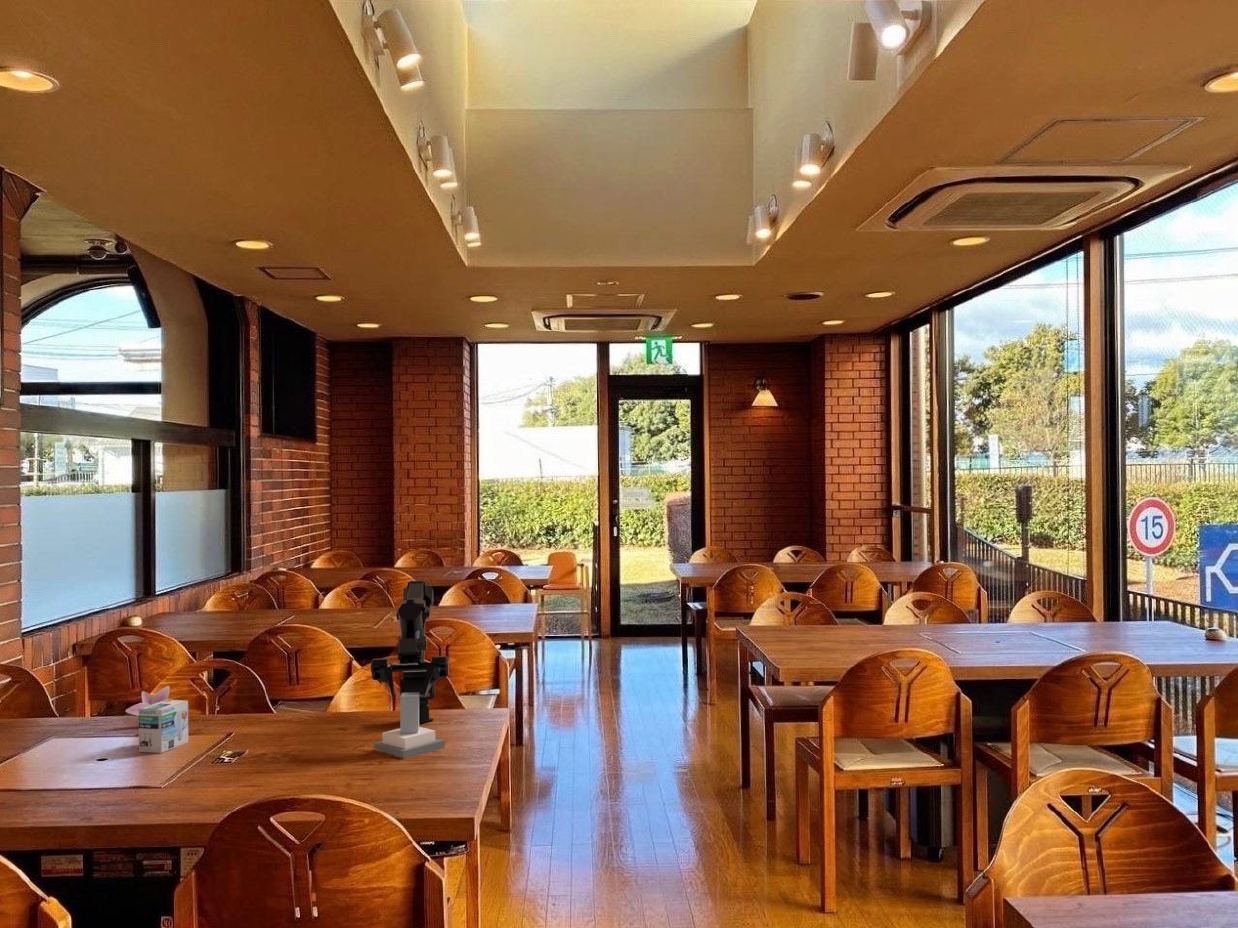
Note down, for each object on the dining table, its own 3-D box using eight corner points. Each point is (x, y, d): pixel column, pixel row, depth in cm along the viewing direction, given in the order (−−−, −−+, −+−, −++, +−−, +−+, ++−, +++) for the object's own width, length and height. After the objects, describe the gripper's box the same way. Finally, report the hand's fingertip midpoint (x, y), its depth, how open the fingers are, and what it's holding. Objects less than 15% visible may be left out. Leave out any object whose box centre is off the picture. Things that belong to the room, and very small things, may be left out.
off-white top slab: (382, 742, 233) (382, 732, 233) (412, 734, 240) (412, 724, 240) (405, 749, 227) (404, 738, 227) (435, 740, 234) (435, 730, 234)
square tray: (374, 753, 233) (374, 742, 233) (414, 742, 242) (414, 732, 242) (403, 761, 225) (403, 751, 225) (444, 750, 234) (444, 740, 234)
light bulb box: (161, 753, 233) (161, 709, 233) (137, 752, 235) (137, 708, 235) (189, 741, 244) (189, 699, 244) (166, 741, 245) (166, 698, 245)
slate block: (400, 733, 231) (400, 696, 231) (401, 729, 235) (401, 692, 235) (417, 733, 232) (418, 695, 232) (419, 728, 236) (419, 692, 236)
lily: (120, 732, 259) (120, 704, 255) (147, 705, 270) (148, 679, 266) (160, 745, 258) (161, 718, 255) (186, 719, 269) (188, 692, 265)
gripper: (371, 626, 237) (366, 680, 226) (447, 623, 239) (446, 676, 228) (375, 652, 244) (370, 705, 233) (449, 649, 247) (448, 702, 236)
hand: (408, 697), depth 232 cm, fingers open, 7 cm apart
